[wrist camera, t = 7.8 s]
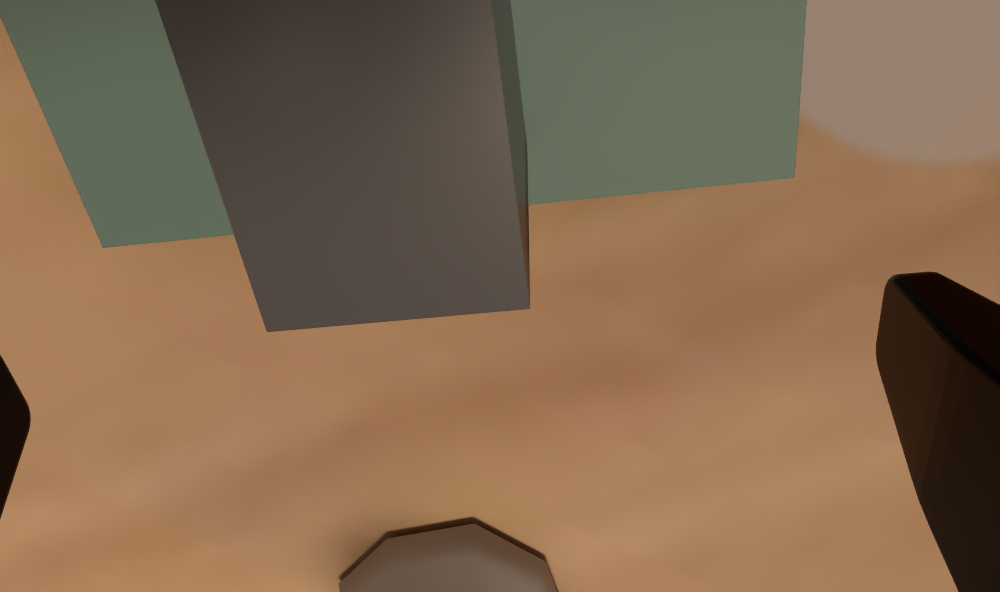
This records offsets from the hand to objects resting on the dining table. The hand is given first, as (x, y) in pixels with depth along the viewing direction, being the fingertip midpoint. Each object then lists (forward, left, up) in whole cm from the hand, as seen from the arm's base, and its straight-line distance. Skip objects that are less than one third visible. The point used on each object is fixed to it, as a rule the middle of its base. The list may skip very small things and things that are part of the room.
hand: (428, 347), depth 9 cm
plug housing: (+1, -2, -11) cm, 11 cm away
